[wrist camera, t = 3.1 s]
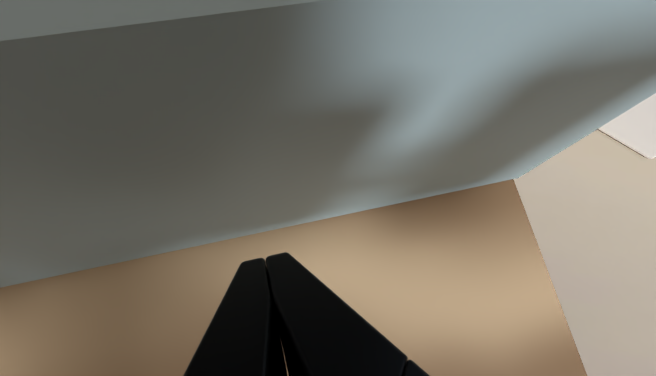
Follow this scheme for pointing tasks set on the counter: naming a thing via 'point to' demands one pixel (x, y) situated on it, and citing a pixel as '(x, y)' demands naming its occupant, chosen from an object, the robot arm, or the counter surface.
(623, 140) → the jar
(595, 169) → the counter surface
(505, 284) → the cart bed
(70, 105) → the grey flat slab
